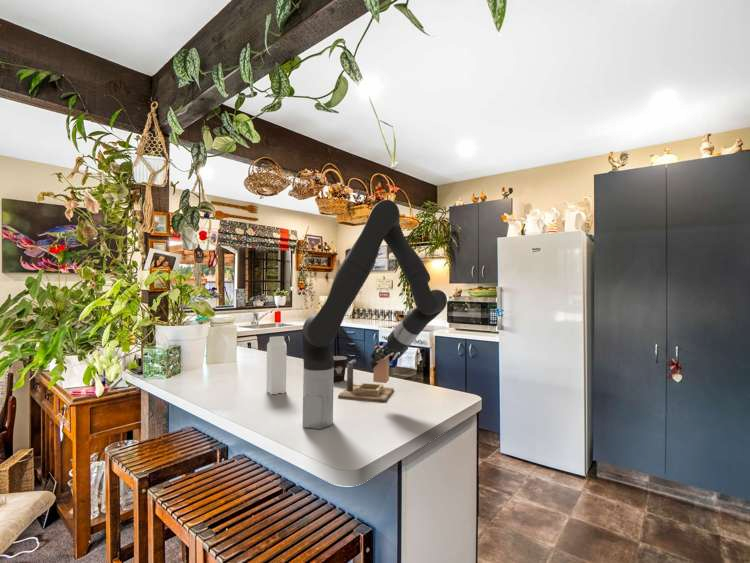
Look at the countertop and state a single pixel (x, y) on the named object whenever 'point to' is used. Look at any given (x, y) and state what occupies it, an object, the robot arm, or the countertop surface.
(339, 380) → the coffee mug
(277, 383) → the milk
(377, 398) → the pintle seat
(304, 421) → the robot arm
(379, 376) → the link block
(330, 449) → the countertop surface
